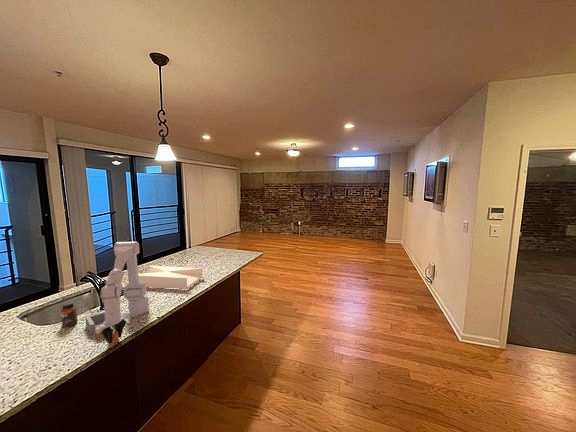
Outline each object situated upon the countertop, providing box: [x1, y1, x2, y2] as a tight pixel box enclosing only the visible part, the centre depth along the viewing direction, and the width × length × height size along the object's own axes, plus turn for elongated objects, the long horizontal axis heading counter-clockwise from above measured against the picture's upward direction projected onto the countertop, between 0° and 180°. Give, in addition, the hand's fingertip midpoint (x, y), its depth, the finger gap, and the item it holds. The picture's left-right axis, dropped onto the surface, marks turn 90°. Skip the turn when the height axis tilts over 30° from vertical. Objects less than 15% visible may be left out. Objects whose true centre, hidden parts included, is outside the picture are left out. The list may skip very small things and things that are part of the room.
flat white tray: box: [138, 265, 204, 289], centre depth 184 cm, size 45×22×10 cm, turn 83°
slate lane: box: [85, 310, 105, 336], centre depth 125 cm, size 12×12×5 cm
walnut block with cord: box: [94, 322, 120, 346], centre depth 115 cm, size 5×16×5 cm, turn 56°
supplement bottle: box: [60, 301, 78, 328], centre depth 126 cm, size 6×6×11 cm
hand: (114, 339), depth 111 cm, fingers closed on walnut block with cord, 4 cm apart
